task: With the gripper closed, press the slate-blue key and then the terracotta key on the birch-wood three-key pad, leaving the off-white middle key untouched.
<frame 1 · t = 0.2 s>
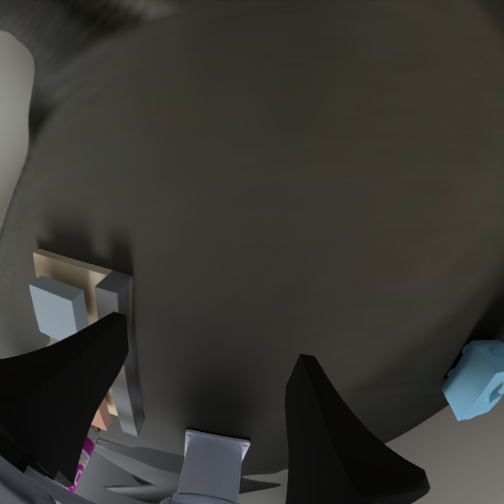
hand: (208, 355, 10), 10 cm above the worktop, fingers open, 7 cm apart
key slate: (59, 312, 19), point 3 cm above the worktop, slide at 0.0 cm
teapot: (471, 352, 23), on the worktop
keypad base: (92, 350, 24), on the worktop
key middle: (73, 368, 21), point 3 cm above the worktop, slide at 0.0 cm
key terracotta: (87, 407, 24), point 3 cm above the worktop, slide at 0.0 cm
supplement can: (79, 418, 31), on the worktop
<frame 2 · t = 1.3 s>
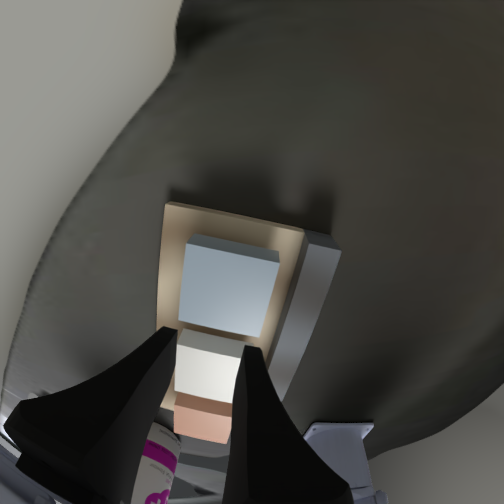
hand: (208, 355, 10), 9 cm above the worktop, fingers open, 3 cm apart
key slate: (226, 286, 16), point 3 cm above the worktop, slide at 0.0 cm
keypad base: (224, 342, 22), on the worktop
key middle: (211, 369, 19), point 3 cm above the worktop, slide at 0.0 cm
key terracotta: (203, 418, 21), point 3 cm above the worktop, slide at 0.0 cm
supplement can: (152, 432, 29), on the worktop
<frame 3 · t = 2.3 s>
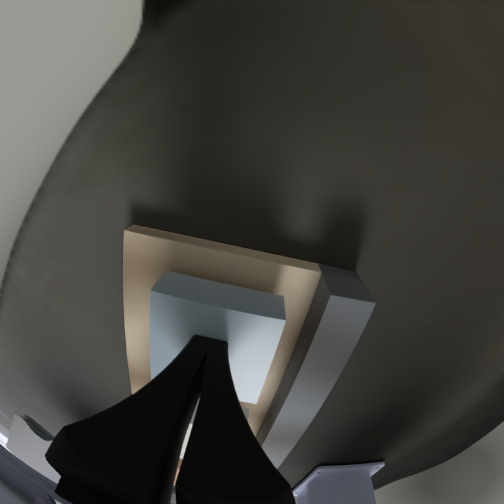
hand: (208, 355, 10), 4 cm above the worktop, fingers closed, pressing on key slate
key slate: (212, 343, 11), point 3 cm above the worktop, slide at 0.6 cm, touching gripper
keypad base: (214, 395, 16), on the worktop
key middle: (197, 433, 13), point 3 cm above the worktop, slide at 0.0 cm
key terracotta: (192, 472, 16), point 3 cm above the worktop, slide at 0.0 cm
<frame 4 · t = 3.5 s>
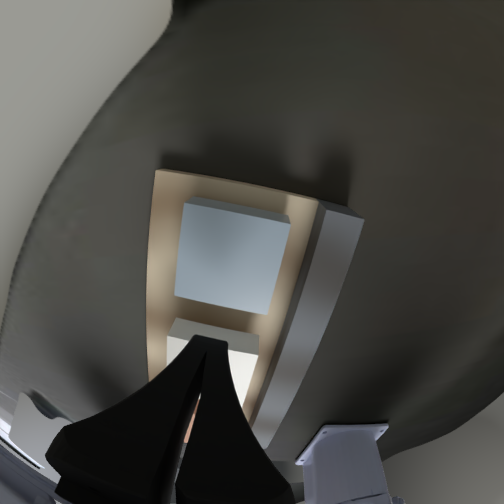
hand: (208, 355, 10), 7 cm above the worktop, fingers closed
key slate: (229, 255, 14), point 2 cm above the worktop, slide at 1.0 cm
keypad base: (224, 334, 19), on the worktop
key middle: (209, 366, 16), point 3 cm above the worktop, slide at 0.0 cm
key terracotta: (201, 423, 18), point 3 cm above the worktop, slide at 0.0 cm
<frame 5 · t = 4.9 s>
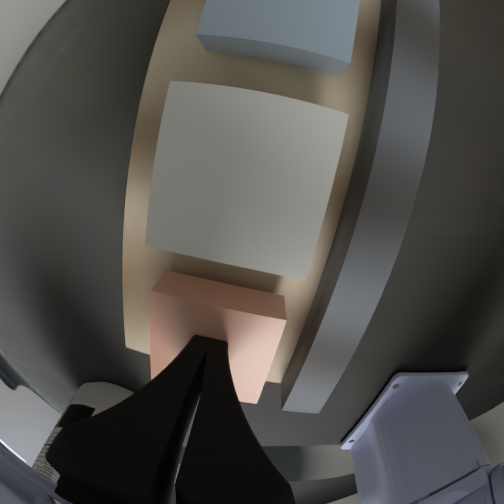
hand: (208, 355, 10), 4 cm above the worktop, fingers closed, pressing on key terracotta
key slate: (285, 0, 7), point 2 cm above the worktop, slide at 1.0 cm
keypad base: (260, 171, 11), on the worktop
key middle: (242, 176, 8), point 3 cm above the worktop, slide at 0.0 cm
key terracotta: (212, 343, 11), point 3 cm above the worktop, slide at 0.7 cm, touching gripper
supplement can: (125, 408, 18), on the worktop
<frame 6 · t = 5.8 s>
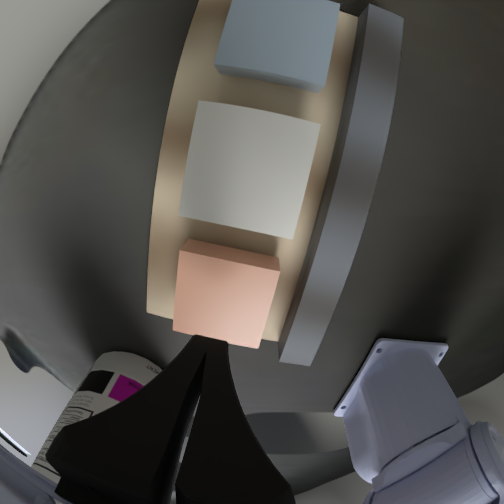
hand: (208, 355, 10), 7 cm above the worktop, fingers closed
key slate: (279, 34, 10), point 2 cm above the worktop, slide at 1.0 cm
keypad base: (260, 165, 15), on the worktop
key middle: (248, 167, 12), point 3 cm above the worktop, slide at 0.0 cm
key terracotta: (223, 295, 15), point 2 cm above the worktop, slide at 1.0 cm
supplement can: (138, 378, 22), on the worktop
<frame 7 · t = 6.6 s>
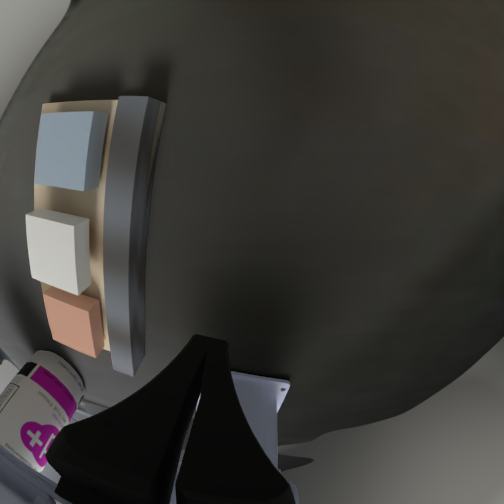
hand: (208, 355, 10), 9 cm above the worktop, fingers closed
key slate: (67, 148, 14), point 2 cm above the worktop, slide at 1.0 cm
keypad base: (86, 236, 19), on the worktop
key middle: (57, 250, 16), point 3 cm above the worktop, slide at 0.0 cm
key terracotta: (73, 321, 19), point 2 cm above the worktop, slide at 1.0 cm
supplement can: (61, 371, 26), on the worktop
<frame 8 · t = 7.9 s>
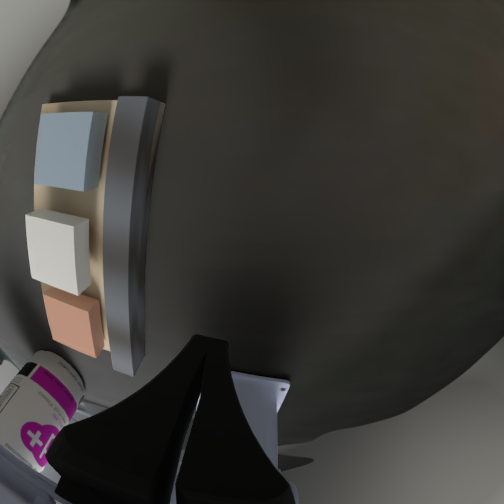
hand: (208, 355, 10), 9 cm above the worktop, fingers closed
key slate: (67, 149, 14), point 2 cm above the worktop, slide at 1.0 cm
keypad base: (86, 236, 19), on the worktop
key middle: (56, 250, 16), point 3 cm above the worktop, slide at 0.0 cm
key terracotta: (73, 321, 19), point 2 cm above the worktop, slide at 1.0 cm
supplement can: (62, 371, 26), on the worktop
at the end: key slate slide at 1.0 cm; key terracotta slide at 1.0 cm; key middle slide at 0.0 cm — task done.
